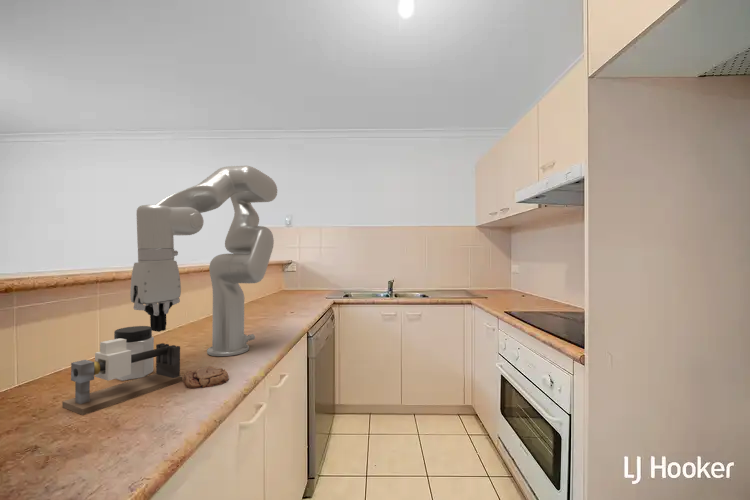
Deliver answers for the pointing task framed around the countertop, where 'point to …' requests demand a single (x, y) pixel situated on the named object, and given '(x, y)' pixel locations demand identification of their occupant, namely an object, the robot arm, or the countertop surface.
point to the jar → (137, 349)
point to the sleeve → (114, 359)
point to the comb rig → (109, 396)
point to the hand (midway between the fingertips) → (158, 330)
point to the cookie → (206, 377)
